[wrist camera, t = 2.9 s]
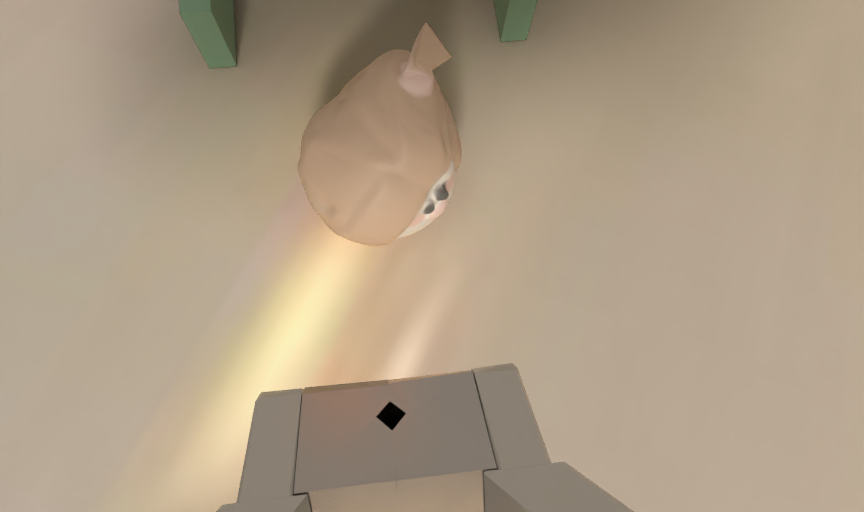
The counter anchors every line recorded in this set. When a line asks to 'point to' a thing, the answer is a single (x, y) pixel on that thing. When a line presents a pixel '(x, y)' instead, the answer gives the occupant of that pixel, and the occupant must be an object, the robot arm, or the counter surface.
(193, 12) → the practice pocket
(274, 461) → the robot arm
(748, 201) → the counter surface
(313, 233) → the counter surface
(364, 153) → the garlic bulb
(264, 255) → the counter surface
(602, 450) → the counter surface
